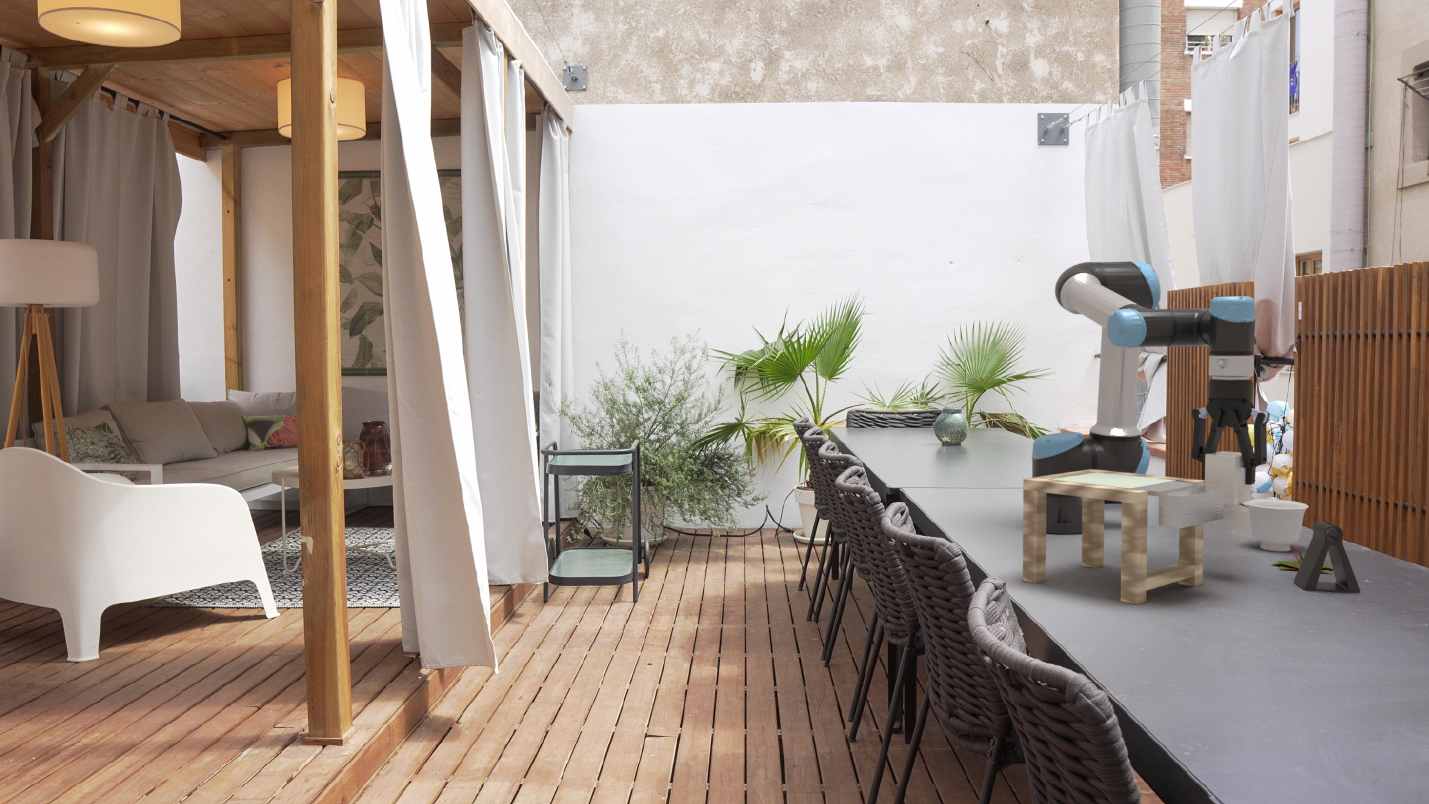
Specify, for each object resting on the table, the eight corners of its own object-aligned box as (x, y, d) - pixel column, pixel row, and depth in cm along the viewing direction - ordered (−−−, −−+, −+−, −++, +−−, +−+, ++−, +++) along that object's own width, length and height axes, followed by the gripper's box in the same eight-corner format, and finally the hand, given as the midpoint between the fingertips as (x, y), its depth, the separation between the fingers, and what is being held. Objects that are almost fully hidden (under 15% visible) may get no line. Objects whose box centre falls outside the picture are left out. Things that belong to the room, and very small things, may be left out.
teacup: (1284, 541, 221) (1285, 497, 220) (1318, 555, 206) (1319, 508, 206) (1229, 540, 222) (1229, 497, 222) (1258, 554, 207) (1259, 507, 207)
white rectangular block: (1204, 501, 186) (1205, 454, 186) (1221, 496, 191) (1222, 451, 190) (1233, 504, 182) (1235, 457, 181) (1251, 500, 186) (1252, 453, 186)
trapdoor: (1224, 518, 175) (1225, 485, 174) (1179, 528, 165) (1180, 494, 165) (1097, 501, 195) (1097, 472, 194) (1050, 510, 185) (1050, 479, 185)
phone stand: (1347, 585, 180) (1349, 521, 180) (1360, 593, 174) (1362, 526, 174) (1293, 582, 182) (1294, 519, 182) (1304, 590, 177) (1305, 525, 176)
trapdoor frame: (1022, 580, 186) (1023, 479, 185) (1090, 563, 200) (1091, 469, 199) (1137, 604, 168) (1138, 492, 167) (1202, 584, 182) (1204, 480, 181)
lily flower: (1269, 573, 192) (1270, 550, 192) (1268, 561, 203) (1268, 539, 202) (1342, 579, 187) (1342, 556, 186) (1336, 567, 197) (1336, 544, 197)
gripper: (1172, 377, 190) (1170, 495, 191) (1273, 380, 175) (1269, 508, 177) (1191, 376, 194) (1189, 491, 196) (1291, 378, 180) (1288, 503, 181)
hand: (1227, 499), depth 186 cm, fingers closed on white rectangular block, 5 cm apart
